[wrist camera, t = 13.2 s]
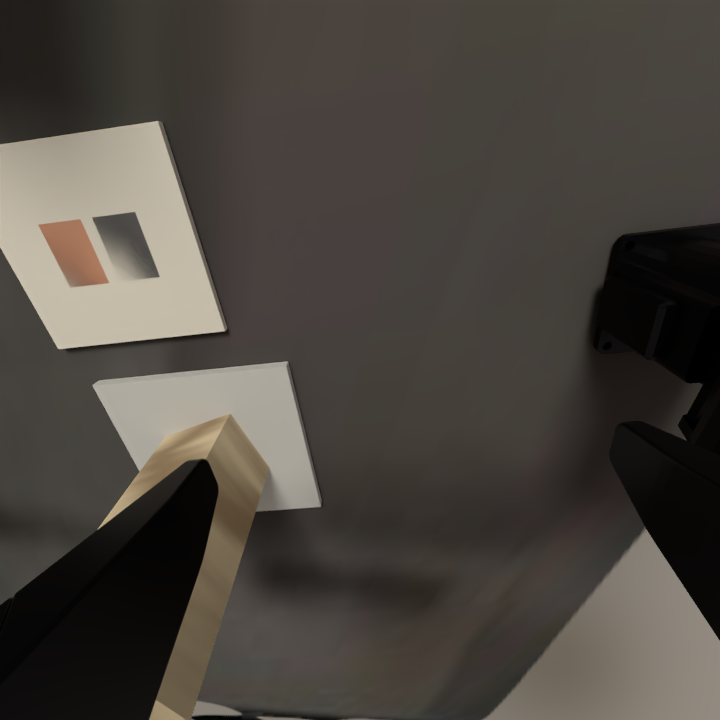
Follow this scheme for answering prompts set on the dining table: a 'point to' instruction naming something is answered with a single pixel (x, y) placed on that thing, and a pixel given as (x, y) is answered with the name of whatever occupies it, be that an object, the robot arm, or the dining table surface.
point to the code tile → (105, 237)
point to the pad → (213, 400)
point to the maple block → (223, 551)
